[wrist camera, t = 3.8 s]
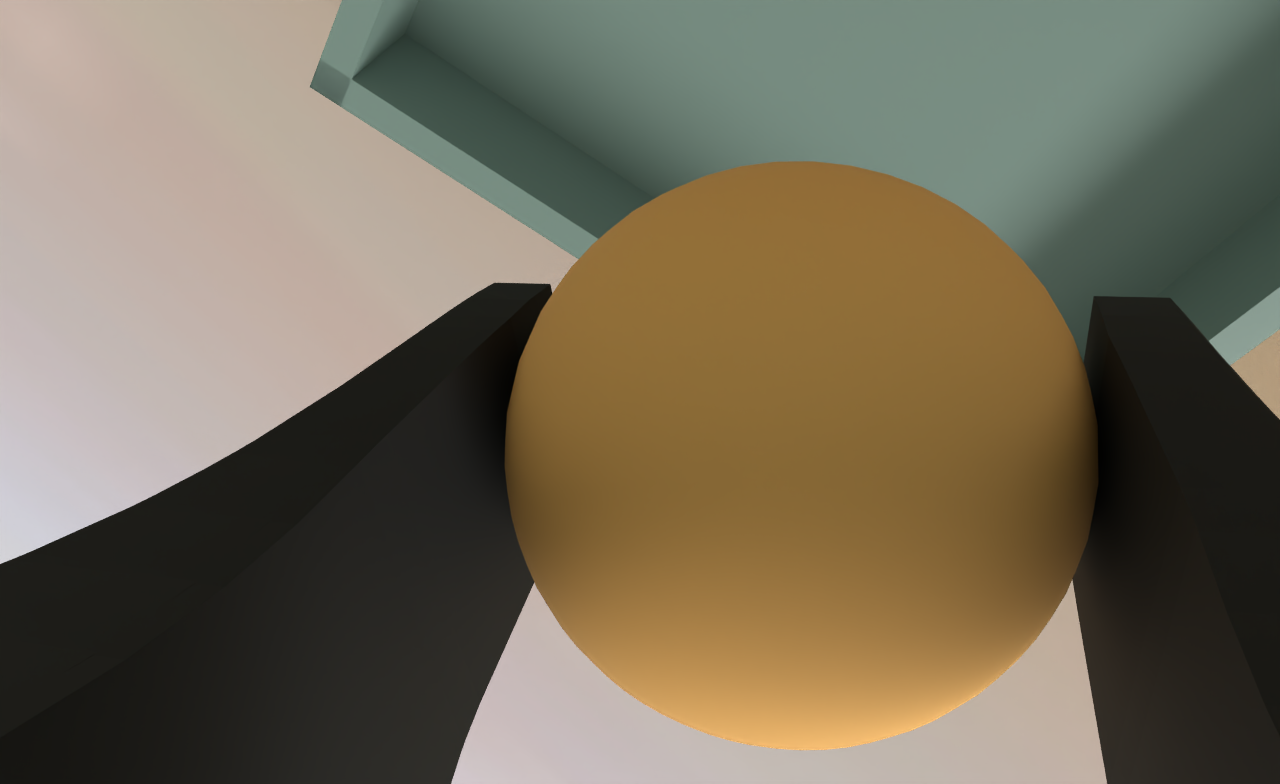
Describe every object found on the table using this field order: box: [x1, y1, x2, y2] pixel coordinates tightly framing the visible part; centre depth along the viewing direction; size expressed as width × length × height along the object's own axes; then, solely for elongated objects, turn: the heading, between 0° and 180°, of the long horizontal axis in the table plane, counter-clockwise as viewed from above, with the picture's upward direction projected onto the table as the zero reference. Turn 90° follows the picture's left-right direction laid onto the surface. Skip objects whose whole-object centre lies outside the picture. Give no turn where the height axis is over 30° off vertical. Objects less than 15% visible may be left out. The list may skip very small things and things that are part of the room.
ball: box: [505, 161, 1098, 750], centre depth 9 cm, size 5×5×5 cm
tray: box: [310, 0, 1280, 365], centre depth 17 cm, size 15×11×3 cm
